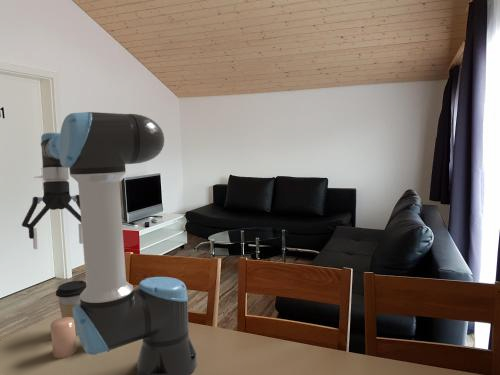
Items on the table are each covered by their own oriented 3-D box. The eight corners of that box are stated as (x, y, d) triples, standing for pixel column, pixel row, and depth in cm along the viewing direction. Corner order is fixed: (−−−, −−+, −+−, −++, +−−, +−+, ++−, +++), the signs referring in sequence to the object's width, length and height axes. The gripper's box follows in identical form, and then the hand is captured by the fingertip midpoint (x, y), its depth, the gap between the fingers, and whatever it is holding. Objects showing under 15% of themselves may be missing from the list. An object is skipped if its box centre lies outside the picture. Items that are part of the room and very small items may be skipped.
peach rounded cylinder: (79, 352, 105) (77, 322, 104) (56, 361, 101) (53, 329, 100) (73, 344, 110) (70, 315, 109) (50, 352, 106) (48, 321, 105)
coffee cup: (97, 324, 122) (94, 279, 120) (82, 339, 112) (78, 291, 111) (70, 323, 123) (66, 279, 121) (52, 338, 113) (48, 290, 112)
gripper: (93, 180, 133) (96, 240, 133) (9, 182, 118) (13, 250, 117) (99, 179, 127) (102, 242, 127) (12, 181, 112) (15, 252, 112)
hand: (59, 246), depth 122 cm, fingers open, 13 cm apart
